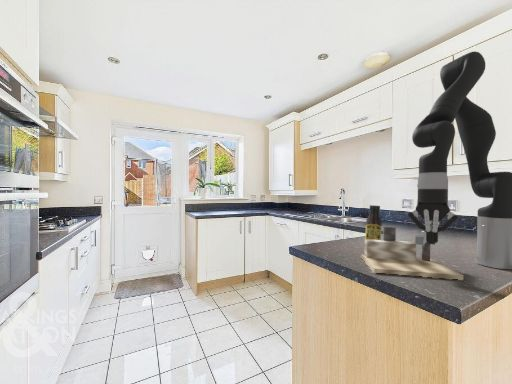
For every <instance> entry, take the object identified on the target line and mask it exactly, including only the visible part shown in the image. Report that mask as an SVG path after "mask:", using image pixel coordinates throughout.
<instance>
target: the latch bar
mask: <svg viewBox="0 0 512 384" xmlns="http://www.w3.org/2000/svg"><path fill="white" fill-rule="evenodd" d="M414 237H415V239H414V240H415V242H414V243H415V244H416V245H420V246H422V245H424V244H425V243H426V242H427V241H426V231H425V230H421V231H420V233H418V234H417V235H415V236H414Z"/></svg>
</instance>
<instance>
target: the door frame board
mask: <svg viewBox="0 0 512 384" xmlns="http://www.w3.org/2000/svg"><path fill="white" fill-rule="evenodd" d="M396 229H397V228H396V227H395V226H382V239H381V240H371V239H365V238H364V241H363V242H364V245H363V246H364V251H363V253H361V254H360V259H361V258H362V259H363V260H364V261H365V262H364V261H363V260H362V259H361V260H362V261H363V262H364V264H366V265H368V266H369V267H370V268H369V267H368V266H367V267H368V268H369V269H370V270H371V272H372V273H373V274H376V273H386V274H385V275H389V274H399V275H398V276H401V275H412V276H411V277H414V276H422V277H421V278H427V277H432V278H431V279H439V278H445V279H444V280H452V279H458V280H457V281H464V274H462V273H460V272H458V271H456V270H454V269H452V268H451V267H448V266H446V265H444V264H442V263H440V262H439V261H436V260H434V259H433V258H431V244H429V242H426V243H425V244H424V245H421V257H417V244H415V242H413V241H410V240H409V241H407V240H406V241H405V240H396V239H397V238H396V235H397V232H396V231H397V230H396Z"/></svg>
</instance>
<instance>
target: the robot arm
mask: <svg viewBox="0 0 512 384" xmlns="http://www.w3.org/2000/svg"><path fill="white" fill-rule="evenodd" d="M485 69H486V59H485V58H484V56H483V55H482V53H480V52H479V51H470V52H467V53H466V54H464V55H461V56H459V57H457V58H456V59H453V60H452V61H450V62H448V63H446V64H444V65H443V66H442V67H441V68H440V71H439V72H440V73H439V76H440V81H441V85H442V88H443V90H444V92H442V93H441V95H439V96H438V98H437V99H436V100H435V101H434V103H433V105H432V107H431V109H430V110H429V113H428V115H426V116H425V117H424V118H423V119H422V120H421V121H420V122H419V123H418V124H417V125H416V126H415V128H414V130H413V133H412V136H411V137H412V139H411V140H412V143H413V144H414V146H415V147H417V148H421V149H423V148H424V149H425V148H431V147H432V148H433V147H434V149H433V150H432V151H431V152H429V153H426V154H423V155H421V156H419V158H418V178H417V184H416V185H417V205H416V207H415V209H414V210H413V211H411V212H408V217H409V218H410V220H412V221H413V222H414V224H415V225H416V226H417V227H418V228H419V229H420V230H422V231H426V241H427V242H429V244H430V245H434V246H435V245H436V243H438V242H439V232H444V231H446V230H447V229H448V228H449V227H450V226H451V225H452V224H453V223H454V222H455V221H457V220H458V219H459V215H458V214H455V213H454V212H452V211H451V209H450V206H449V177H448V156H449V155H450V151H451V149H452V148H451V147H452V146H453V142H454V139H455V136H456V128H457V132H458V135H459V138H460V142H461V144H462V147H463V150H464V151H463V152H464V155H465V158H466V163H467V168H468V175H469V180H470V181H469V182H470V186H471V189H472V191H473V193H474V195H475V196H476V197H479V198H483V199H484V198H485V199H492V202H491V203H490V204H488V205H486V206H483V207H480V208H478V210H477V217H476V218H477V226H476V228H477V229H476V232H477V233H476V236H477V237H476V263H477V264H478V265H480V266H484V267H489V268H493V269H501V270H512V172H511V171H495V172H491V171H490V170H489V165H488V156H489V154H490V151H491V149H492V146H493V145H494V142H495V140H496V135H497V131H496V128H495V125H494V124H495V123H494V121H493V116H492V115H491V113H489V111H487V110H486V109H485V108H482V107H481V106H479V105H478V104H476V103H475V102H473V101H471V100H470V99H469V97H467V96H468V95H469V94H470V92H471V91H472V89H474V87H475V85H477V83H478V82H479V80H480V79H481V77H482V76H483V74H484V73H485V71H486V70H485ZM454 121H455V123H456V128H455V126H454V124H453V122H454ZM419 216H420V217H421V218H422V219H423V220H424V223H423V222H422V221H421V220H420V219H419V218H418V217H419ZM446 216H447V219H448V220H447V221H445V223H444V224H442V225H441V226H440V221H442V220H443V219H444V218H445V217H446Z"/></svg>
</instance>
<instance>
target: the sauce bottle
mask: <svg viewBox="0 0 512 384" xmlns="http://www.w3.org/2000/svg"><path fill="white" fill-rule="evenodd" d="M380 210H381V205H374V204H373V205H369V215H368V216H367V219H366V220H365V221H366V223H365V236H364V240H365V239H371V240H382V232H383V226H382V225H383V224H382V223H383V221H382V219H381V217H380Z"/></svg>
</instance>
